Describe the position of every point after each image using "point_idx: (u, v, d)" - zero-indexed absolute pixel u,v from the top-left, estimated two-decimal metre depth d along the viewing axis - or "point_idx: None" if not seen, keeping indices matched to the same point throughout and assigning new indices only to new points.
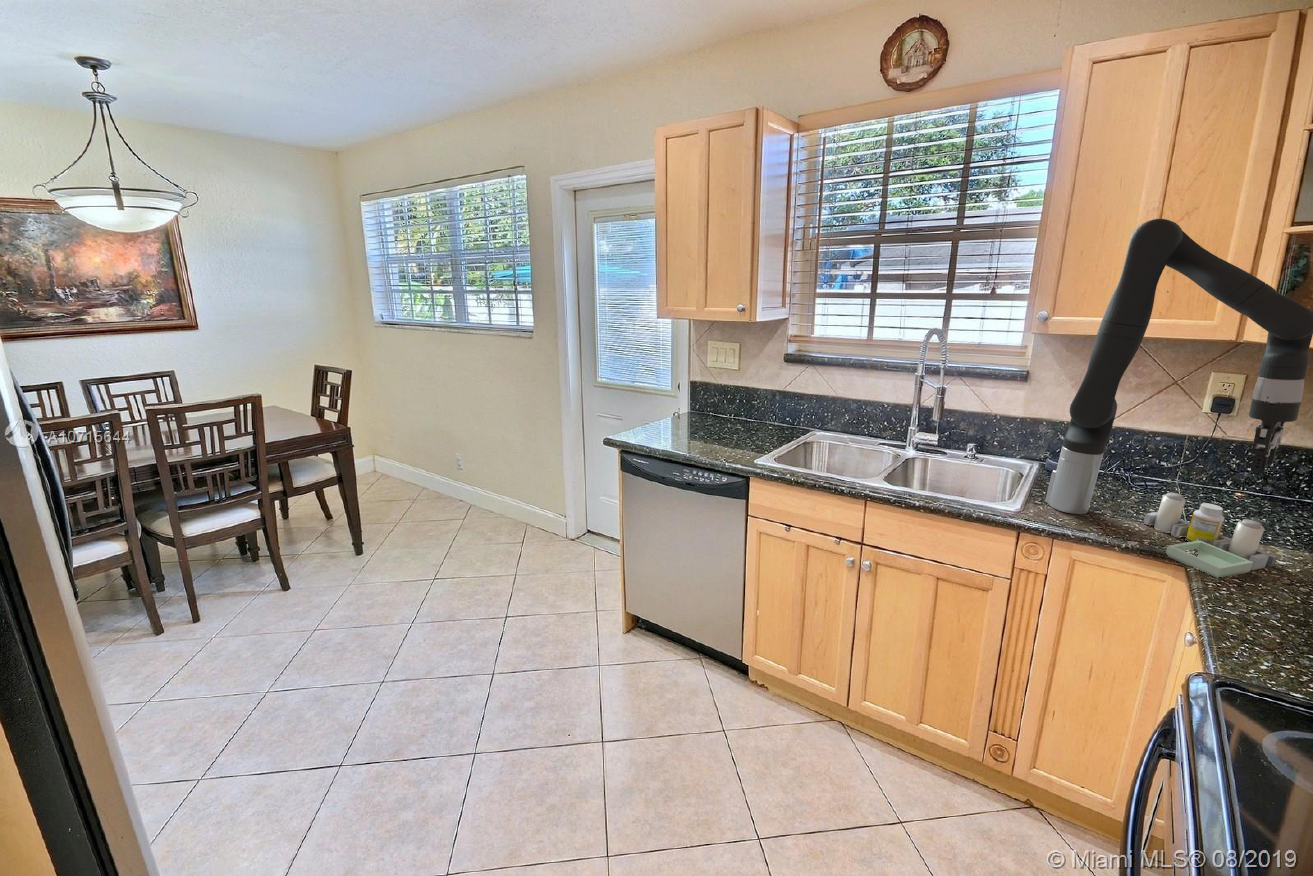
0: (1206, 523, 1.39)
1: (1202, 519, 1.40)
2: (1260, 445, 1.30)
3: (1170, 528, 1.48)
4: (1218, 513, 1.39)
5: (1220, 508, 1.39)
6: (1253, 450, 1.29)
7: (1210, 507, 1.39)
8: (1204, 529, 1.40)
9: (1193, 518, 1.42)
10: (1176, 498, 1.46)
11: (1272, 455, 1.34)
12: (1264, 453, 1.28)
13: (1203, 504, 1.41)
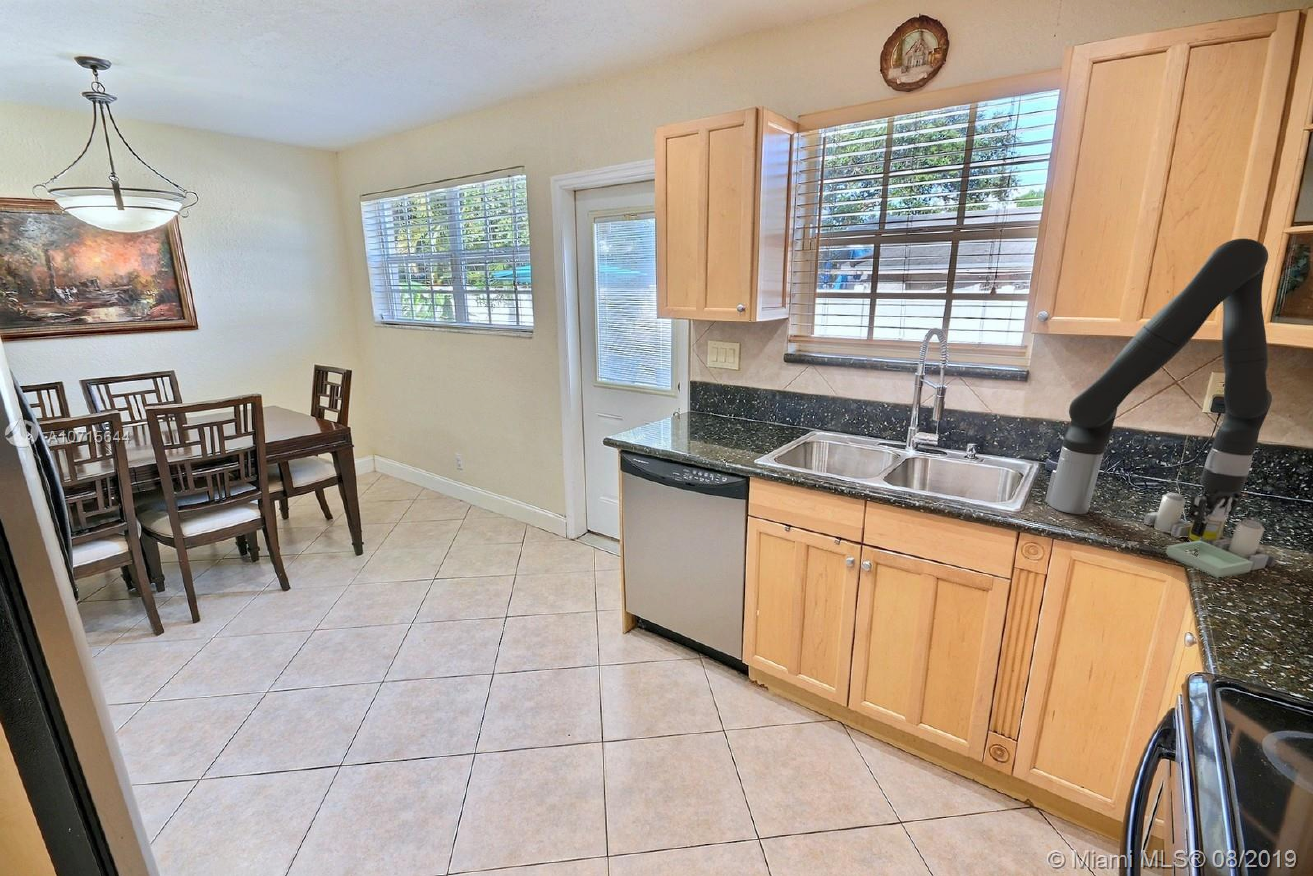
0: (1209, 523, 1.39)
1: None
2: None
3: (1170, 528, 1.48)
4: (1220, 513, 1.39)
5: (1222, 507, 1.39)
6: (1190, 514, 1.40)
7: None
8: (1206, 528, 1.40)
9: None
10: (1176, 498, 1.46)
11: None
12: (1198, 519, 1.39)
13: None
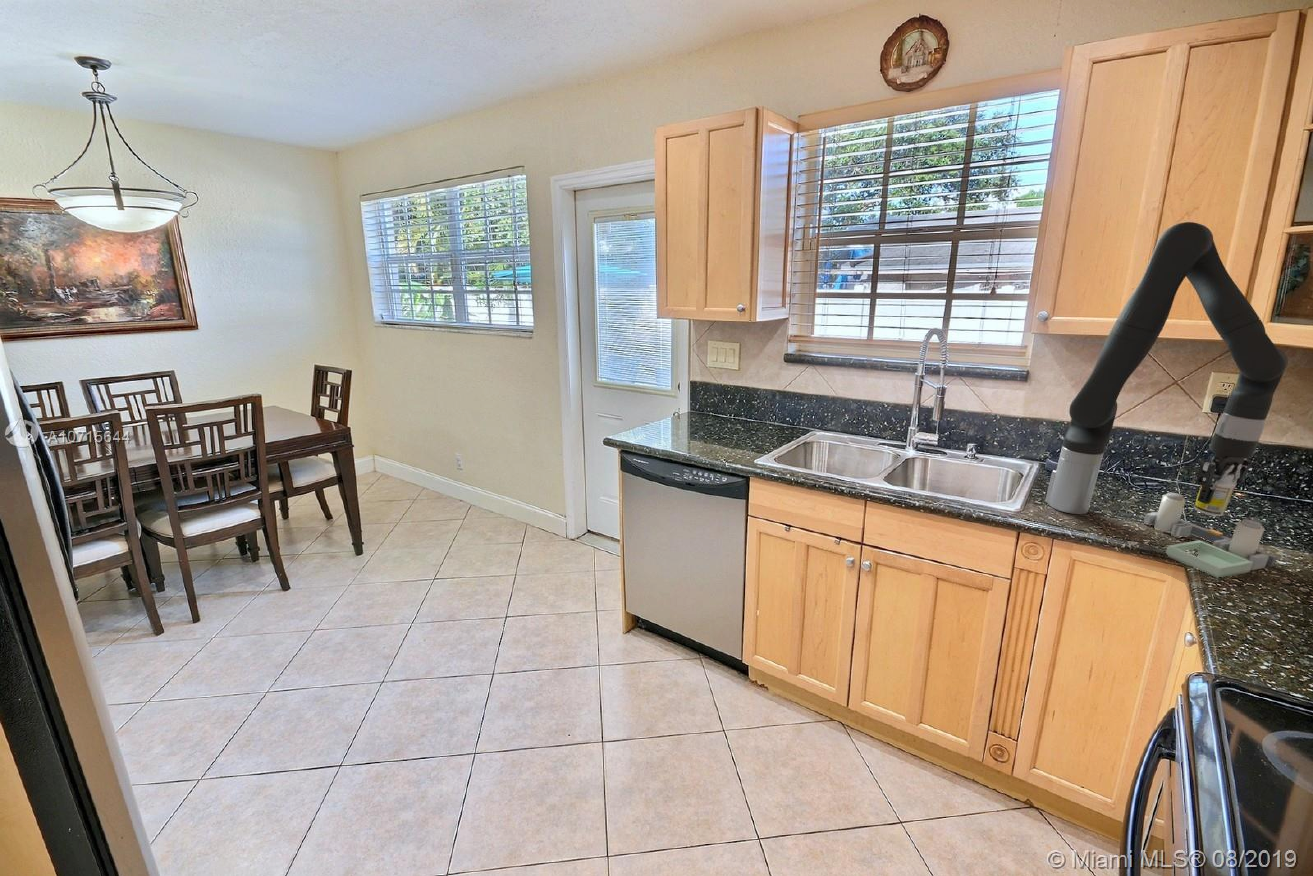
0: (1217, 490, 1.37)
1: None
2: None
3: (1170, 528, 1.48)
4: (1229, 479, 1.36)
5: (1231, 474, 1.36)
6: (1197, 481, 1.37)
7: None
8: (1213, 495, 1.37)
9: None
10: (1176, 498, 1.46)
11: None
12: (1206, 485, 1.36)
13: None
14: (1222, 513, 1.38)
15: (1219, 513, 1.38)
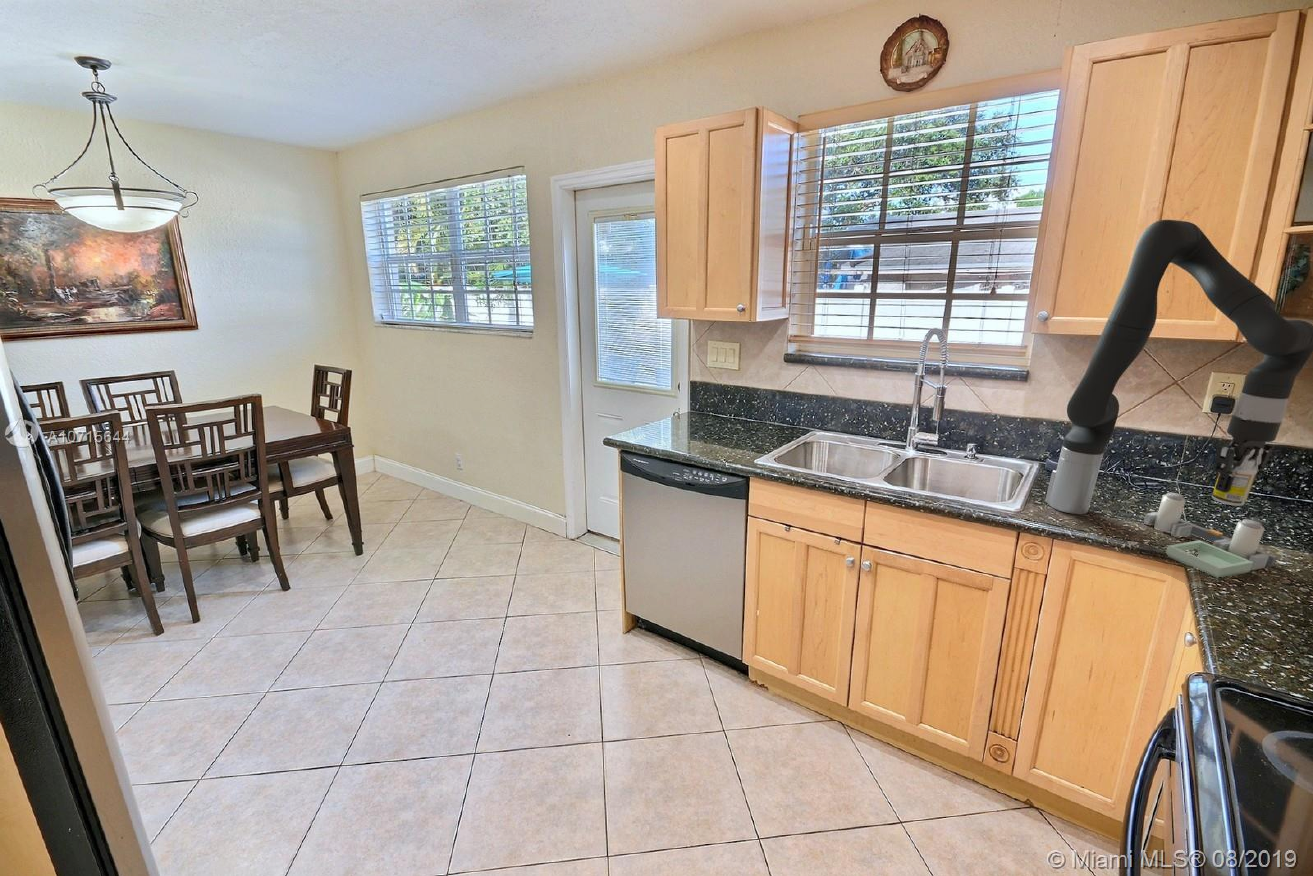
0: (1237, 477, 1.26)
1: None
2: None
3: (1170, 528, 1.48)
4: (1250, 465, 1.25)
5: (1252, 460, 1.25)
6: (1215, 467, 1.26)
7: None
8: (1233, 483, 1.26)
9: None
10: (1176, 498, 1.46)
11: None
12: (1224, 472, 1.25)
13: None
14: (1243, 502, 1.27)
15: (1240, 502, 1.27)
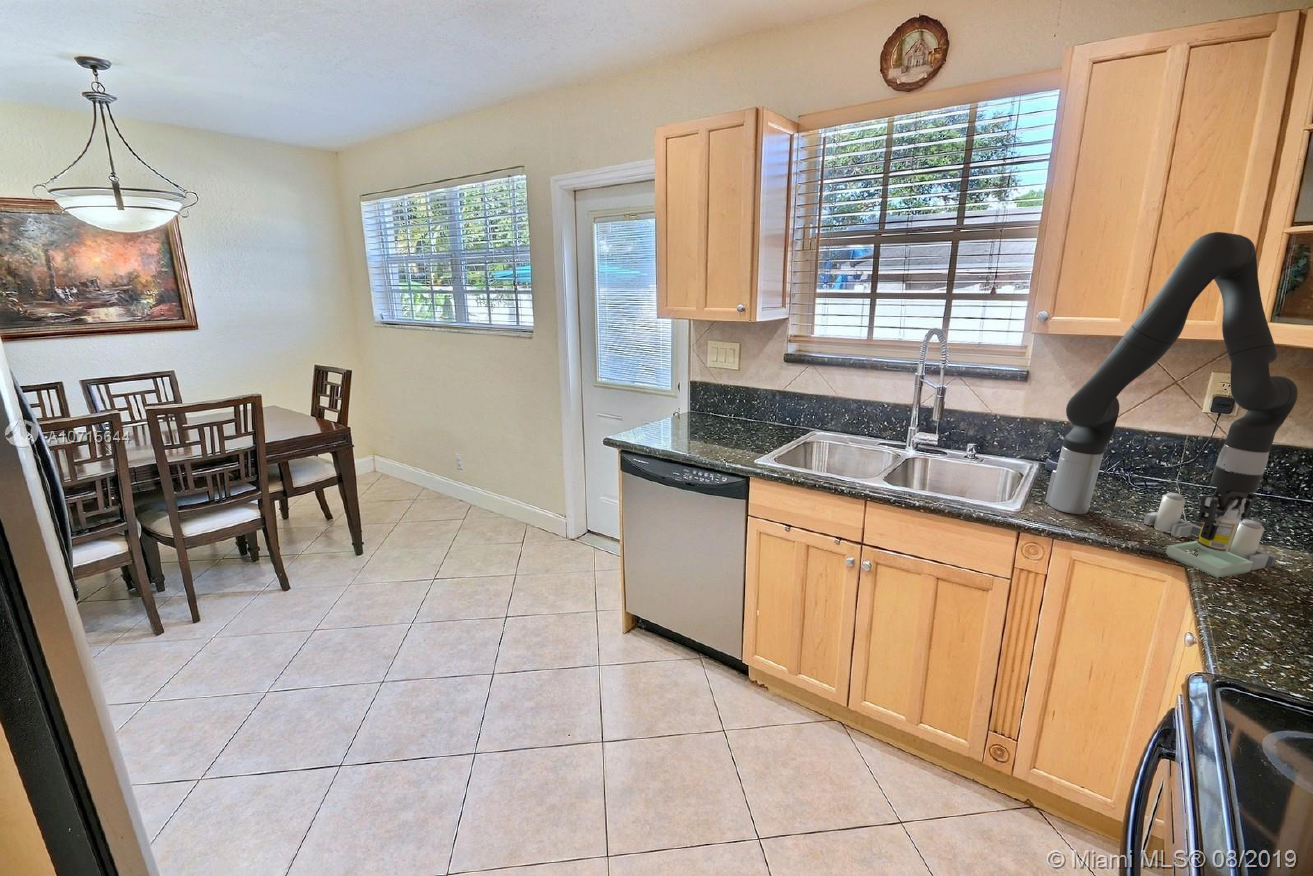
0: (1221, 525, 1.29)
1: None
2: None
3: (1170, 528, 1.48)
4: (1233, 515, 1.28)
5: (1235, 509, 1.29)
6: (1200, 516, 1.30)
7: None
8: (1217, 532, 1.30)
9: None
10: (1176, 498, 1.46)
11: None
12: (1208, 521, 1.28)
13: None
14: (1227, 550, 1.30)
15: (1224, 550, 1.30)
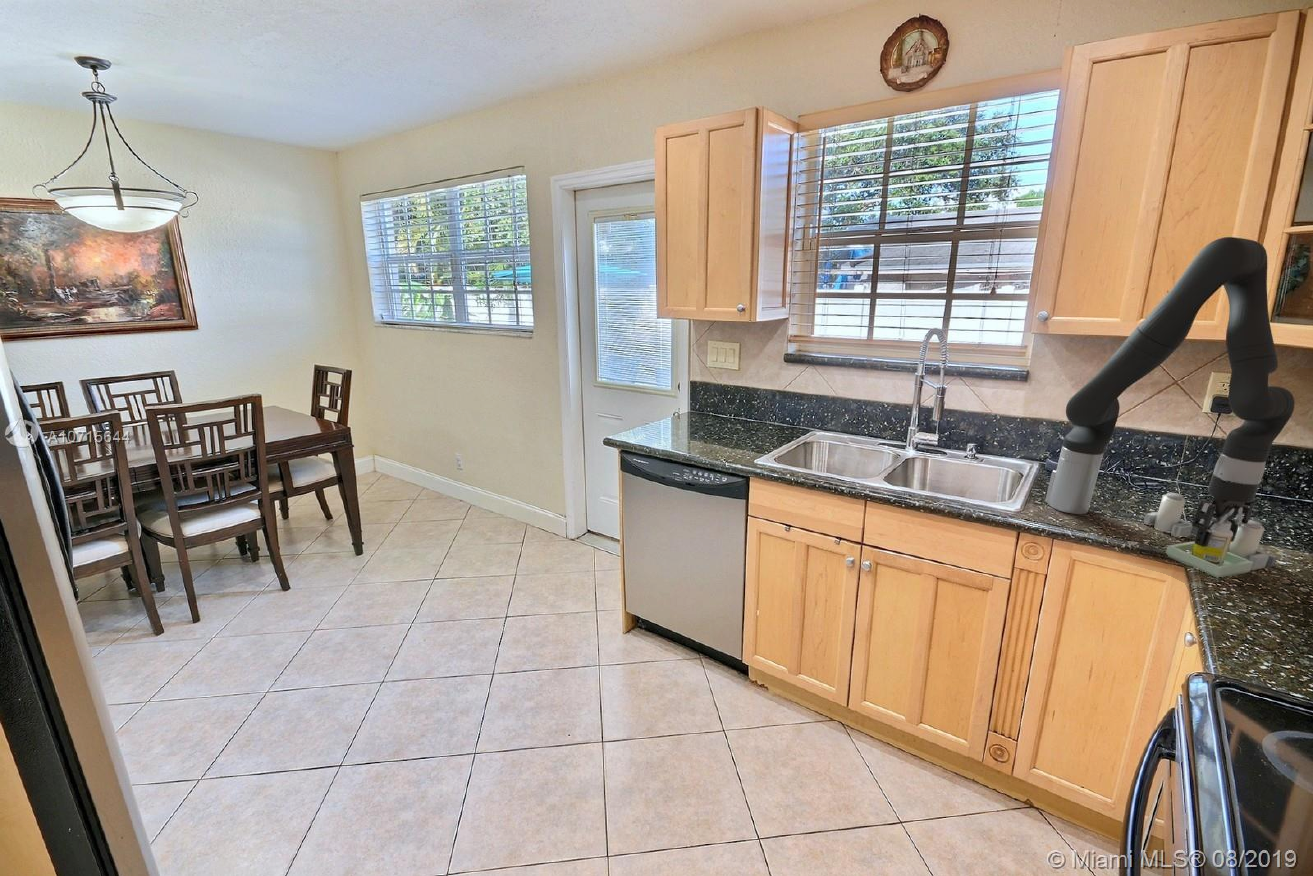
0: (1214, 538, 1.30)
1: None
2: None
3: (1170, 528, 1.48)
4: (1226, 528, 1.30)
5: (1228, 522, 1.30)
6: (1194, 523, 1.30)
7: None
8: (1211, 545, 1.31)
9: None
10: (1176, 498, 1.46)
11: None
12: (1202, 527, 1.28)
13: None
14: (1221, 563, 1.31)
15: (1218, 563, 1.31)
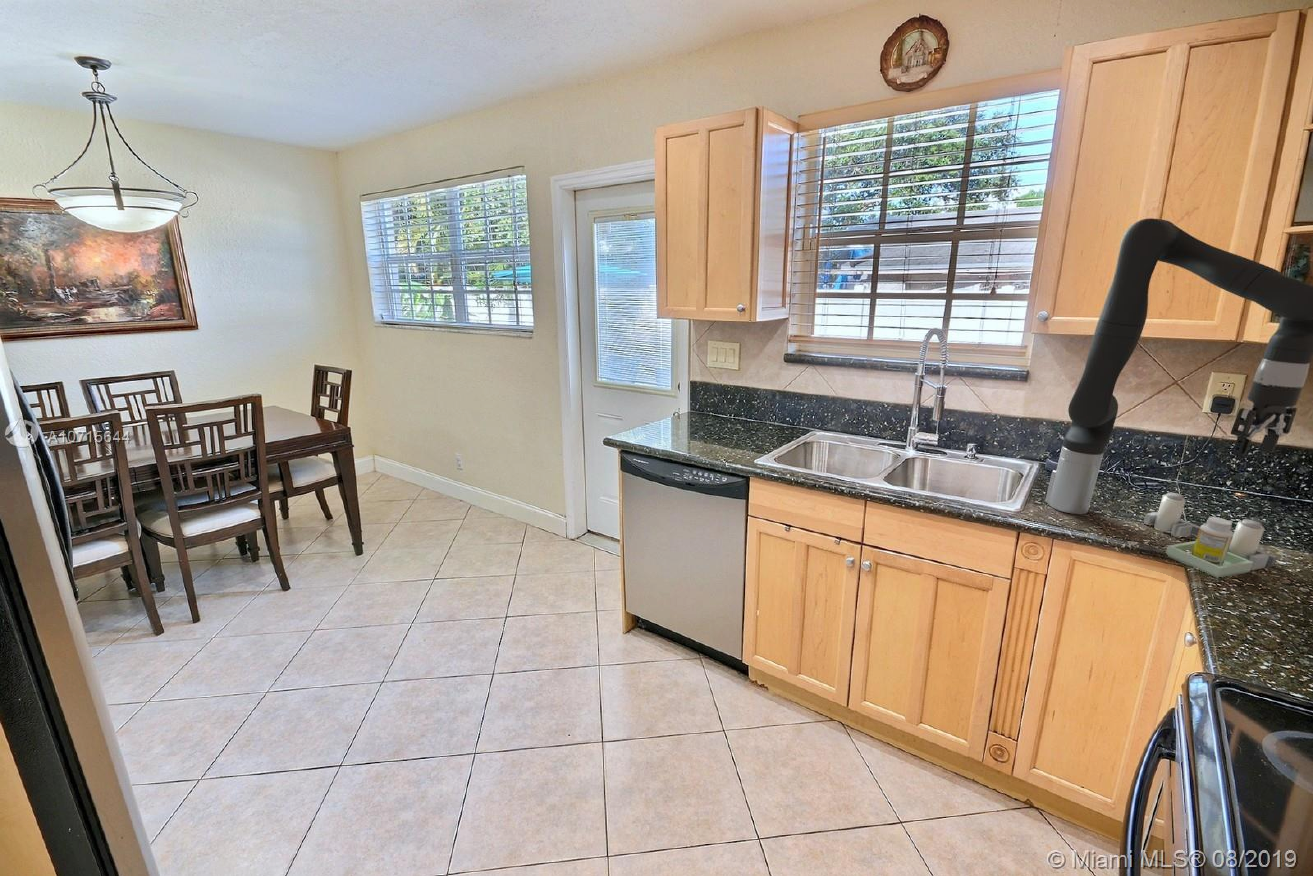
0: (1214, 539, 1.30)
1: (1209, 534, 1.31)
2: None
3: (1170, 528, 1.48)
4: (1227, 528, 1.30)
5: (1229, 522, 1.30)
6: (1232, 430, 1.27)
7: (1218, 521, 1.30)
8: (1211, 545, 1.31)
9: (1200, 533, 1.33)
10: (1176, 498, 1.46)
11: (1273, 443, 1.30)
12: (1241, 434, 1.26)
13: (1210, 518, 1.32)
14: (1221, 563, 1.31)
15: (1218, 563, 1.31)
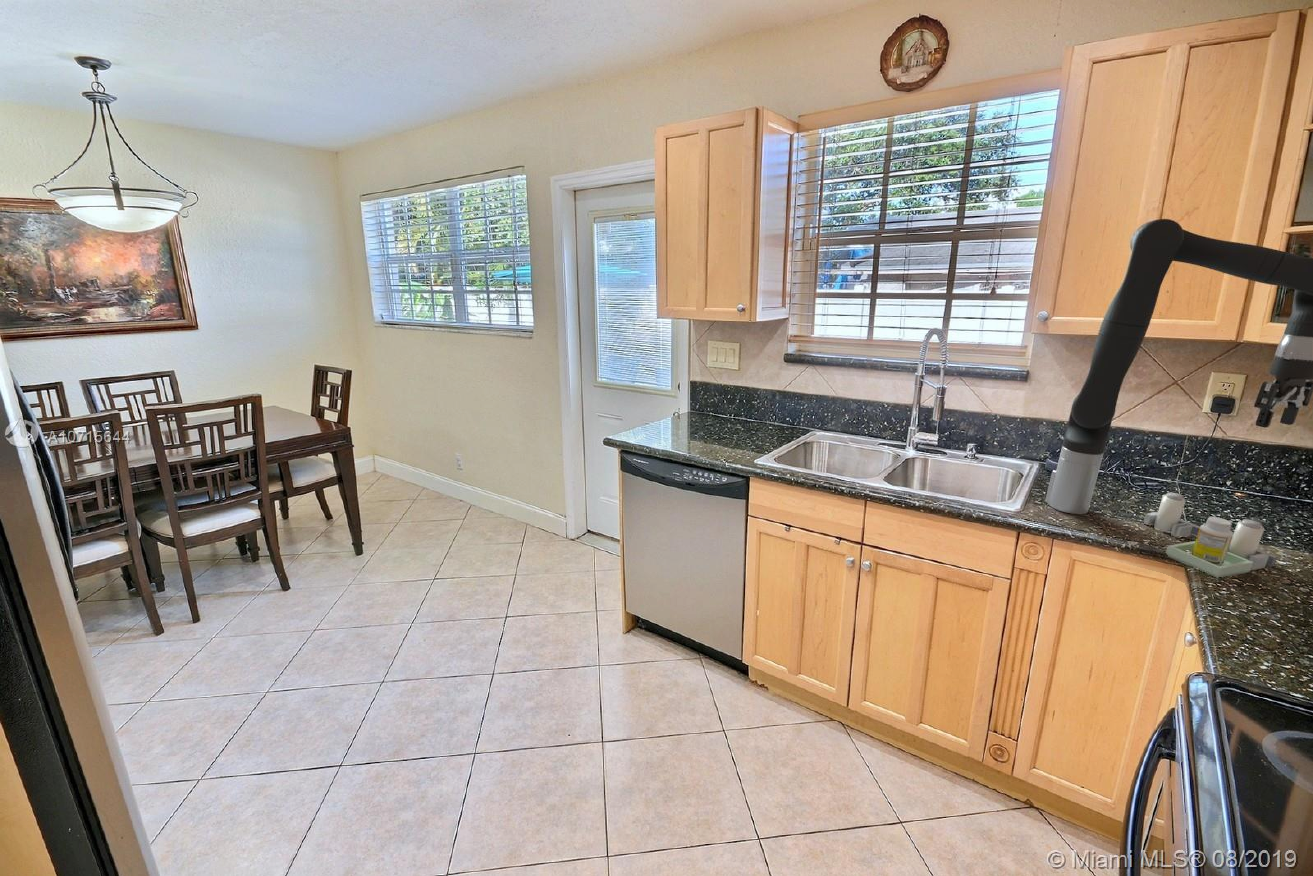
0: (1214, 539, 1.30)
1: (1209, 534, 1.31)
2: None
3: (1170, 528, 1.48)
4: (1226, 528, 1.30)
5: (1228, 522, 1.30)
6: (1256, 403, 1.33)
7: (1217, 521, 1.31)
8: (1211, 545, 1.31)
9: (1200, 533, 1.33)
10: (1176, 498, 1.46)
11: (1293, 415, 1.35)
12: (1265, 406, 1.31)
13: (1210, 518, 1.32)
14: (1221, 563, 1.31)
15: (1218, 563, 1.31)
